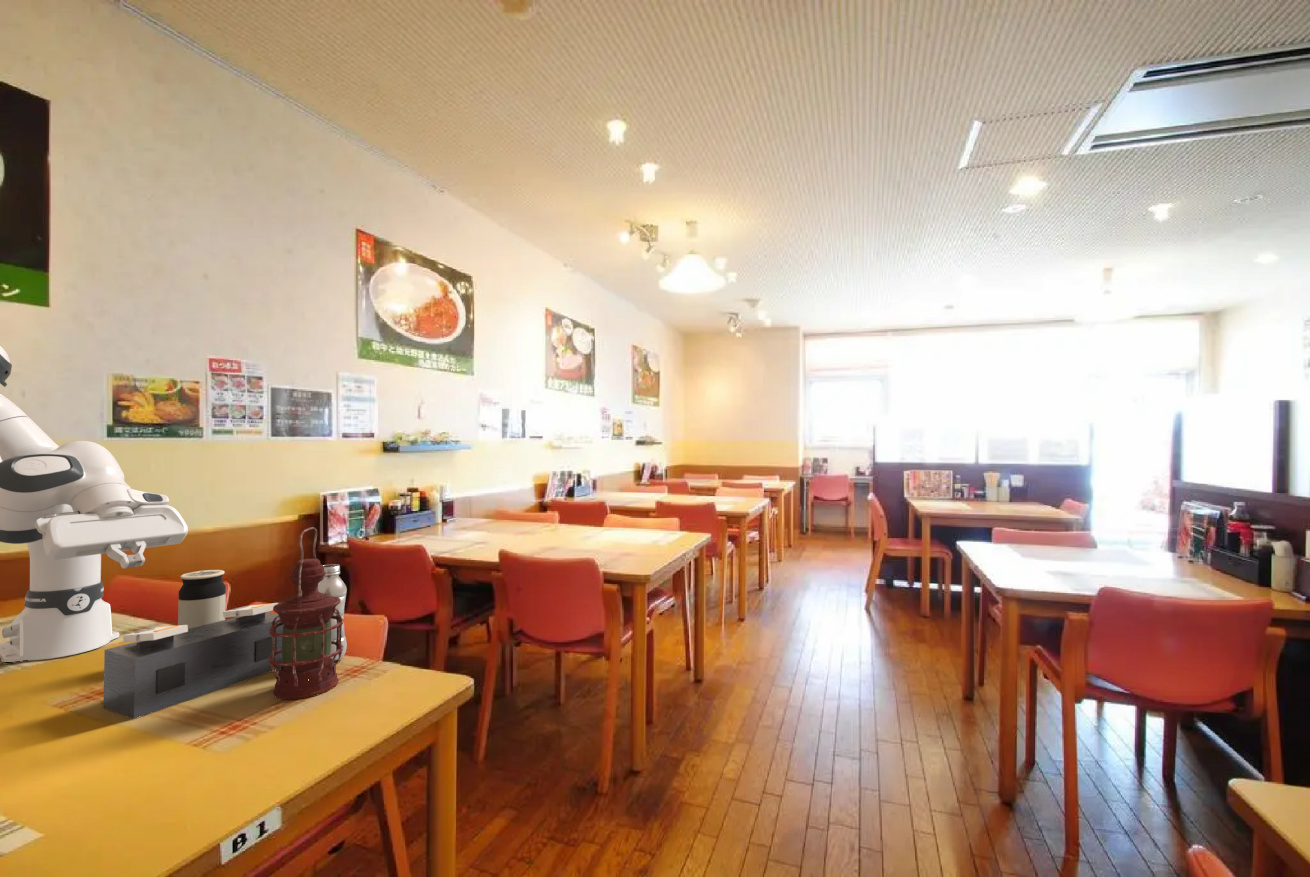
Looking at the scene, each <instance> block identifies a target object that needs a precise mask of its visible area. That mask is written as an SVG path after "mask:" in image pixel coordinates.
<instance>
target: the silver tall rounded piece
mask: <svg viewBox="0 0 1310 877" xmlns="http://www.w3.org/2000/svg"><path fill="white" fill-rule="evenodd" d="M323 566H324V571H325V572H326V574H325V575H324V579H323V580H322V581H320V582H319V583H318V591H319V592H321V593H324V594H327V595H330V596H334V597H338V598H340V599H341V601H340V603H339V604H338V605H337V606H336V607H335V608H336V609H338V610H339V612H340V616H341V617H342V618H343V620H344V619H345V618H344V617H345V616H344V615H345V605H346V604H345V603H346V597H347V593H348V592H347V590H348V589H347V585H346V584H345V583H344V581H343V580H342V578H341V576H339V575H340V574H341V565H340V564H336V563H334V564H333V563H332V564H324V565H323ZM335 612H336V610H335ZM336 615H337V614H335V613H334V614H333V616H336ZM330 620H331V627H332V626H335V625H336V624H337V620H336V619H332V618H330ZM345 634H346V632H345V620H344V622H343V624H342V633H341V644H342V645H343V646H344V647H343V651H342V655H341V659H342V658H344V656H345V654H346V653H347V648H348V644H347V637H346V635H345ZM336 640H337V628H335V629H332V630H331V641H336ZM334 652H336V645H335V644H331V652H330V654H332V653H334ZM333 657H334V656H333ZM333 657H331V658H332V659H333ZM338 658H339V655H338V654H337V656H336V658H335V659H334V662H335V661H338Z"/></svg>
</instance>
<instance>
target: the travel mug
mask: <svg viewBox="0 0 1310 877" xmlns="http://www.w3.org/2000/svg"><path fill="white" fill-rule="evenodd" d="M224 574H226V573H225V570H222V569H208V570H206V569H205V570H198V571H192V572H187V573H183V574H181V575H180V576H179V578H180V579H181V581H182V586H181V587H180V589H179V590H178V602H177V603H178V604H177V605H178V607H177V608H178V611H177V612H178V614H177V615H178V616H177V617H178V618H177V626H179V625H188V629H190V628H194V627H198V626H202V625H206V624H210V623H214V622H218V621H222V620H226V618H223V612H225V611H226V599H227V598H226V597H227V596H226V592H227V590H226V589H227V588H226V584H225V582H224V581H223V578H224V577H223V576H224Z"/></svg>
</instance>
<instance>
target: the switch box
mask: <svg viewBox="0 0 1310 877" xmlns="http://www.w3.org/2000/svg"><path fill="white" fill-rule="evenodd" d="M277 616H279V615H278V614H277V613H276V612H271V611H268V612H264V613H260V614H256V615H250V616H239V617H229V618H225V620H222V621H218V622H214V623H210V624H206V625H202V626H198V627H194V628H190V629H188V632H184V633H180V634H176V635H172V636H168V637H165V638H161V639H157V640H149V641H135V642H129V643H127V644H123V645H119V646H115V647H110V648H105V649H104V655H103V656H104V658H103V660H104V661H103V663H104V665H103V666H104V667H103V702H102V703H103V704H102V705H103V708H104V709H106V710H109V711H110V712H114V713H116V714H120V715H122V716H123V717H124V716H125V717H127V716H128V717H127V718H130V717H131V718H130V719H132V718H133V720H135V718H136V719H138V718H137V717H139V716H142V717H144V716H147V715H150V714H152V713H151V712H153V713H156V712H158V711H162V710H164V708H165V709H167V708H169V707H173V706H176V705H179V704H181V703H184V702H188V701H191V700H192V699H196V698H199V697H201V696H205V695H207V694H211V693H213V692H216V691H219V690H222V689H224V688H228V687H230V686H234V685H236V684H239V683H242V682H246V681H247V680H250V679H254V678H256V677H259V676H262V675H265V674H268V673H270V672H273V671H272V666H271V663H270V662H269V660H268V659H269V656H270V654H271V653H272V635H271V634H270V633H269V629H270V627H272V622H273V620H274V618H275V617H277ZM278 620H279V617H278V618H277V619H276V620H275V623H276V622H277V621H278ZM279 623H281V622H279ZM283 626H284V625H281V626H279V627H277V628H276V633H281V634H283ZM280 649H282V637H277V636H276V637H275V651H277V650H280ZM275 661H278V662H283V657H282V652H280V653H278V654H276V655H275ZM276 666H277V667H278V668H281V667H282V666H281V665H276ZM275 669H276V668H275ZM166 707H167V708H166ZM161 709H162V710H161ZM149 713H150V714H149ZM146 714H147V715H146ZM143 715H144V716H143ZM139 718H140V717H139Z"/></svg>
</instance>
